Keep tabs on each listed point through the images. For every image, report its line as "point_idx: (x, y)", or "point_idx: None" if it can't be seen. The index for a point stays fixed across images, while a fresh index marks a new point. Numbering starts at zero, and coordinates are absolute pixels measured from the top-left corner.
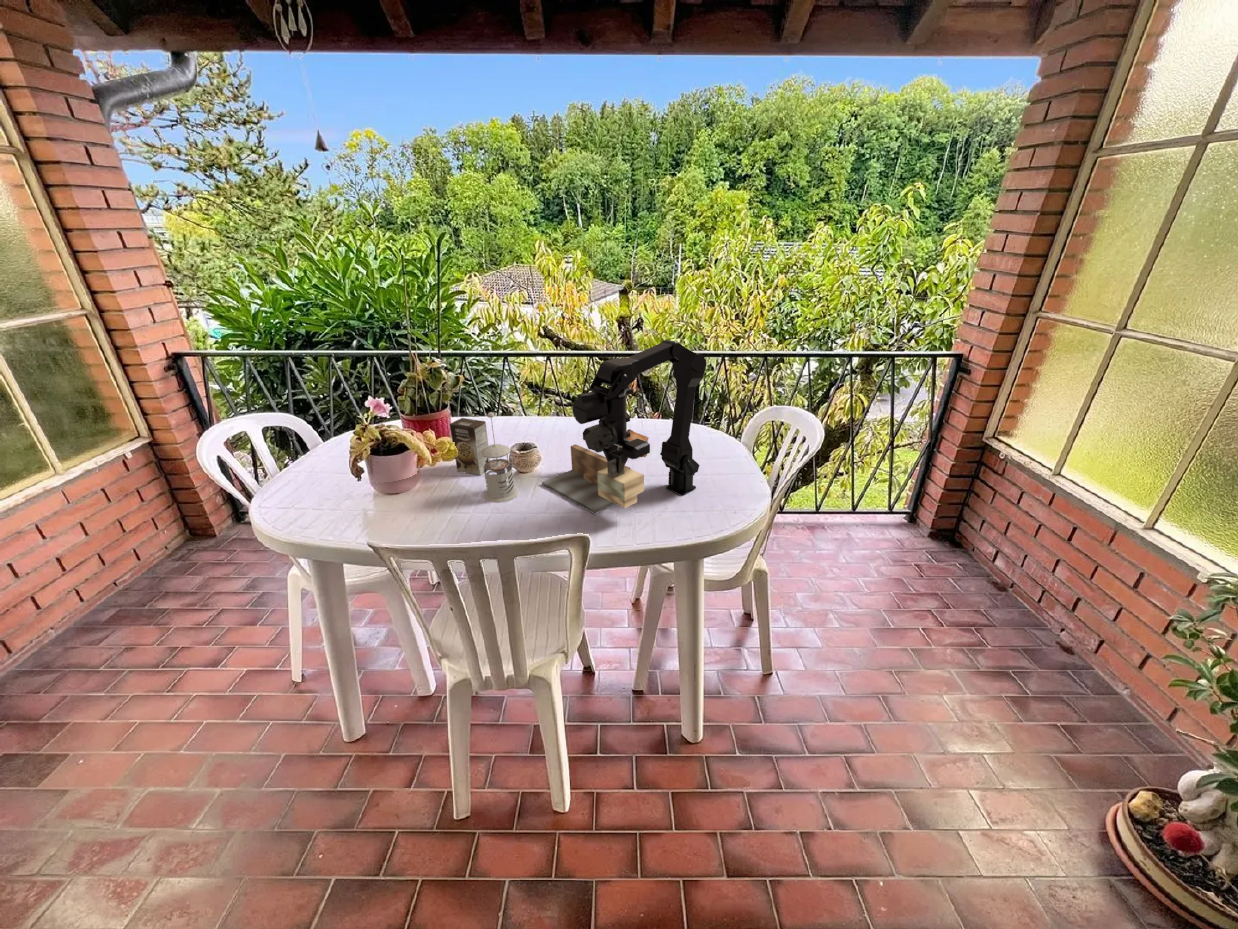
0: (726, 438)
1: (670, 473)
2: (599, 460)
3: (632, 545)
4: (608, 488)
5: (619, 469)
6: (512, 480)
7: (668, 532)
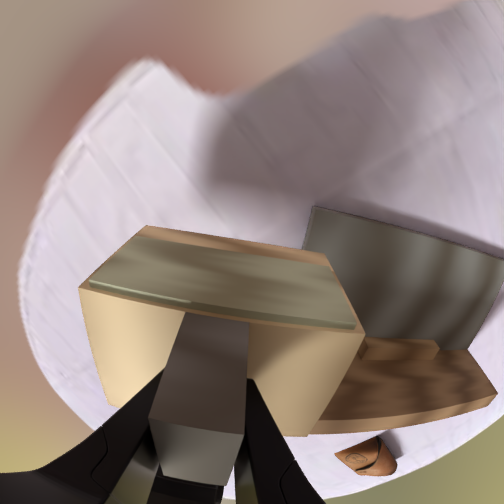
0: None
1: None
2: (412, 408)
3: (89, 131)
4: (242, 266)
5: (145, 392)
6: None
7: (67, 249)
